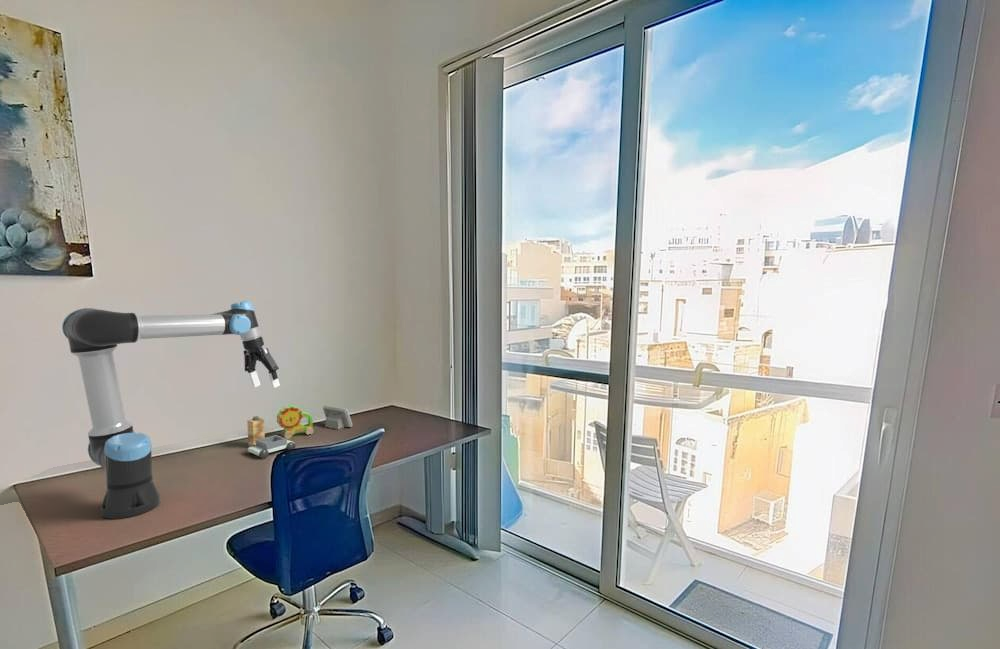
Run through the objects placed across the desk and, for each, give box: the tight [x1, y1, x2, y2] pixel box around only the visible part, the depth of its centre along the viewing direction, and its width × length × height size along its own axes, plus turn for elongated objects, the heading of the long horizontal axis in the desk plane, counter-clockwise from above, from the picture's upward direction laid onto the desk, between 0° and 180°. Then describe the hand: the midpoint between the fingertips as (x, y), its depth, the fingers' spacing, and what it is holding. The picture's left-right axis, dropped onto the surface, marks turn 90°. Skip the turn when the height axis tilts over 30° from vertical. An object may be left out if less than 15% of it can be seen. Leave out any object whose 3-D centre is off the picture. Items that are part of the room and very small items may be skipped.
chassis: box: [246, 434, 296, 459], centre depth 206 cm, size 16×11×6 cm
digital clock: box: [322, 405, 353, 430], centre depth 243 cm, size 16×9×11 cm, turn 53°
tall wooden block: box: [247, 415, 266, 447], centre depth 213 cm, size 5×5×13 cm
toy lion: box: [276, 405, 314, 440], centre depth 227 cm, size 16×5×15 cm, turn 128°
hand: (266, 386), depth 199 cm, fingers open, 13 cm apart
